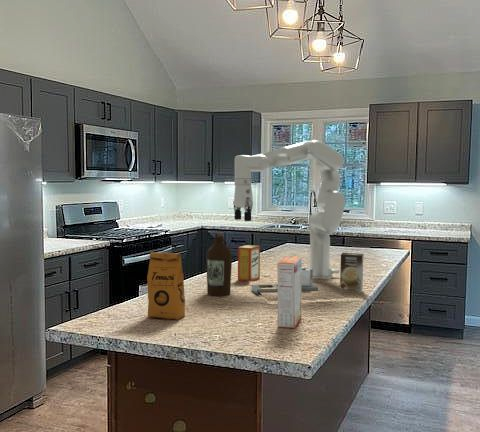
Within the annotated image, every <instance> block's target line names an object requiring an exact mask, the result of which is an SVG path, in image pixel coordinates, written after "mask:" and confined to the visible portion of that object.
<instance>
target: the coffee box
mask: <svg viewBox="0 0 480 432" xmlns="http://www.w3.org/2000/svg"><path fill="white" fill-rule="evenodd" d="M339 274H340V277H339V290H341V291H342V290H343V291H344V290H346V291H355V292H357V293H359V294H362V293H363V284H364V283H363V280H364V253H357V252H354V253H353V252H342V253H341V254H340V269H339Z"/></svg>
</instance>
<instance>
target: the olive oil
mask: <svg viewBox="0 0 480 432" xmlns="http://www.w3.org/2000/svg"><path fill="white" fill-rule="evenodd" d="M205 260H206V261H205V262H206V265H205V266H206V285H207V287H206V289H207V295H208V296H211V297H212V296H213V297H225V296H226V297H227V296H230V295H231V285H232V283H231V282H232V267H233V266H232V264H233V263H232V262H233V255H232V251H231V250H230V248H229V247H228V246H227V245H226V244H225V243H224V233H223V232H215V234H214V243H213V244H212V245H211V246H210V247H209V248H208V250H207V252H206V255H205Z"/></svg>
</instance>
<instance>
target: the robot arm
mask: <svg viewBox="0 0 480 432" xmlns="http://www.w3.org/2000/svg"><path fill="white" fill-rule="evenodd" d="M311 159H312V160H313V159H314V160H315V164H316V165H315V166H316V167H317V169H318V170H319V172H320V174H321V184H320V188H319V191H318V195H317V199H316V204H317V207H318V208H319V209H321V210H323V211H324V212H322V211H317V212H314V213H313V214H311V215H310V217H309V218H308V230H309V239H310V240H309V268H310V269H313V280H326V279H327V280H328V279H329V280H330V278H331V279H333V277H334V276H333V274H340V269H339V268H336V269H333V268H332V267H330V262H331V261H330V259H331V255H330V254H331V237H330V234H333V233H335V232H337V230H338V229H339V227H340V225H341V221H342V218H343V213H344V210H345V206H346V198H345V196H344V194H343V193H342V192H340V191H339V188H340V183H341V177H340V173H339V170H340V169H341V168H342V166H343V165H344V158H343V155H342V154H341V153H340V152H338V151H337V150H335V149H333V148H332V147H330V146H328V145H327V144H325V143H324V142H322V141H320V140H317V139H316V140H315V139H313V140H307V141H302V142H298V143H295V144H291V145H286V146H283V147H279V148H277V149H274V150H269V151H266V152H262V153H259V154H258V153H257V154H254V155H247V154H240V155H236V156H235V157H234V193H233V194H234V197H233V198H234V199H233V201H232V204H233V208H234V209H233V211H234V220H236V221H237V220H240V221H241V220H242V209H244V213H243V214H244V217H243V218H244V219H243V220H244V222H251V221H252V212H253V211H252V210H253V205H254V201H253V200H254V199H253V198H254V197H253V190H252V173H255V172H257V173H258V172H264V171H267V170H268V169H269V168H274V167H284V166H289V165H293V164H295V163H297V164H298V163H300V162H304V161H308V160H311Z"/></svg>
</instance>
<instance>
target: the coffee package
mask: <svg viewBox="0 0 480 432" xmlns="http://www.w3.org/2000/svg"><path fill="white" fill-rule="evenodd" d="M148 263H149V264H148V270H147V276H146V279H147V300H148V306H147V317H150V318H151V317H152V318H157V319H166V320H176V321H178V320H180V319H182V318H183V317H185V315H186V313H185V312H186V296H185V283H184V282H185V280H184V279H185V278H184V272H183V265H182V258H181V254H180V252H179V253H178V252H177V253H174V252H173V253H172V252H171V253H170V252H169V253H167V252H152V251H151V252H150V253H149V262H148Z"/></svg>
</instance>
